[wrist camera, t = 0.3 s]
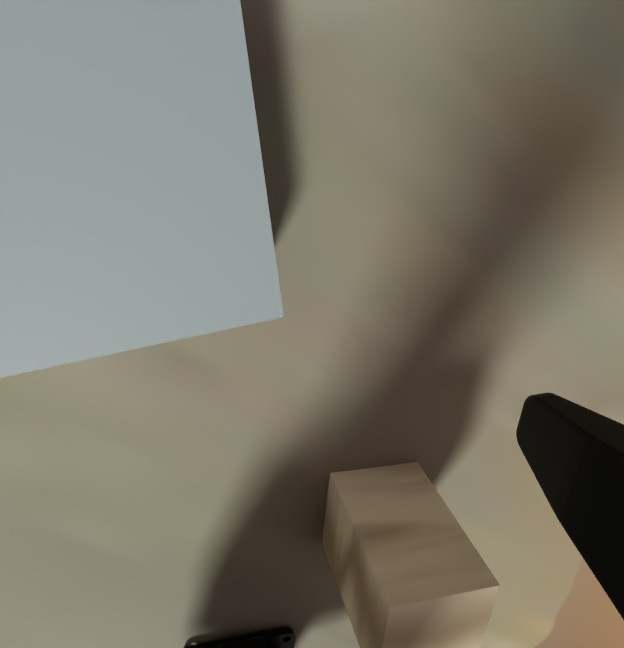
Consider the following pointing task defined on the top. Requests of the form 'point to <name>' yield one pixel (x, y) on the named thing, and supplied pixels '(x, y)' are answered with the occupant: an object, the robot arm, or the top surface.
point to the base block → (127, 179)
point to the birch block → (404, 561)
